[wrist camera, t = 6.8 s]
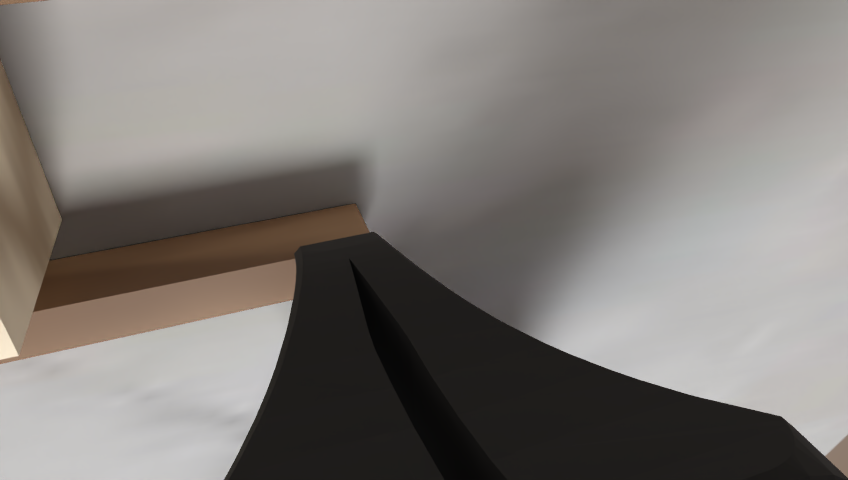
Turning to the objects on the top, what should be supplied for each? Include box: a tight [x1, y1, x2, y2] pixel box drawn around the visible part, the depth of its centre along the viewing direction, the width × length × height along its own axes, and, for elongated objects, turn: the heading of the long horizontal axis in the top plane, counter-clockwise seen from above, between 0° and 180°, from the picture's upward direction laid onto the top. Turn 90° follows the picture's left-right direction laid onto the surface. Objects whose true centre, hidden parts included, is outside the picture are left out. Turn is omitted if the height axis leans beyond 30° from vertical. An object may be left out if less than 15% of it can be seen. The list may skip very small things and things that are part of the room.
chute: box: [0, 0, 370, 364], centre depth 16 cm, size 10×14×3 cm
